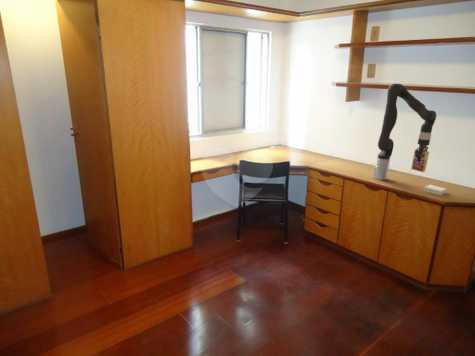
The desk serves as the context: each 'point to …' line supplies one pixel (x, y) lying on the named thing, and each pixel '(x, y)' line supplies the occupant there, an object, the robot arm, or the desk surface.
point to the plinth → (434, 190)
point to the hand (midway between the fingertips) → (419, 160)
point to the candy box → (422, 164)
